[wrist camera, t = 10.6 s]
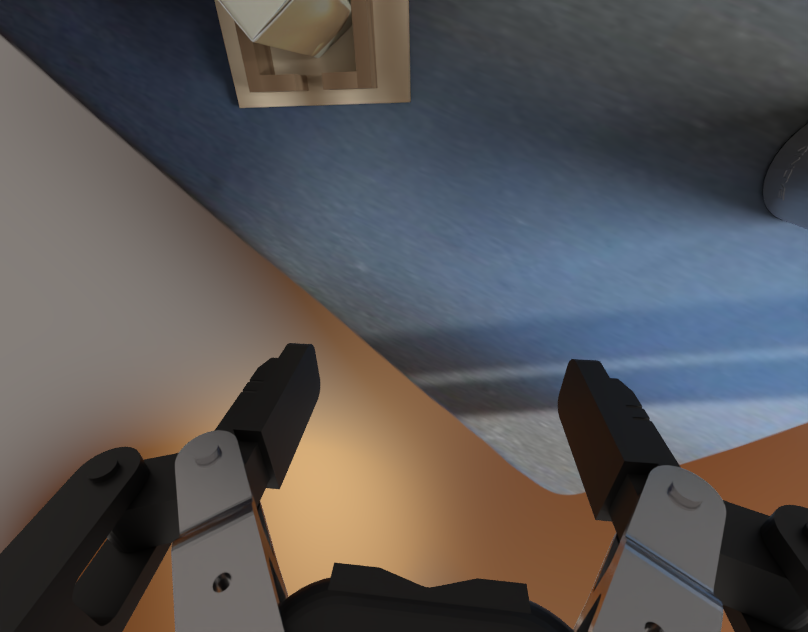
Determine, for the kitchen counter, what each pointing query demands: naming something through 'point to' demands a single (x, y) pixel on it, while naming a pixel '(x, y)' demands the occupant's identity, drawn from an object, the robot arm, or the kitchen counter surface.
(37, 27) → the kitchen counter surface
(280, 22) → the skincare box
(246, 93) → the frame
